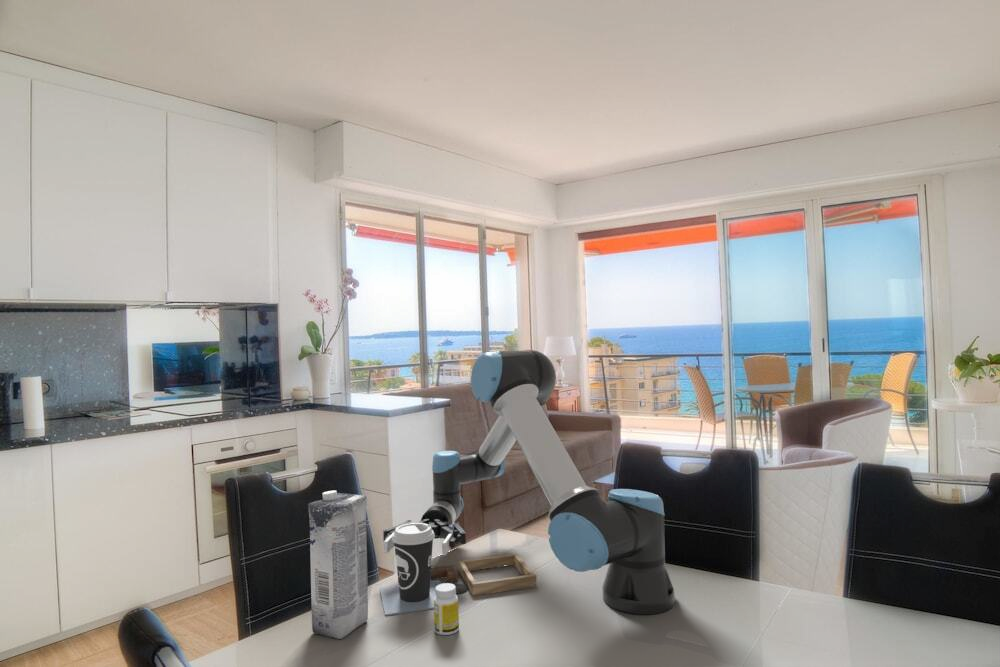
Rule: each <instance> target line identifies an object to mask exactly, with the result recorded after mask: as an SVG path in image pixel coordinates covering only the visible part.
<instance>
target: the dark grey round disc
mask: <svg viewBox="0 0 1000 667" xmlns="http://www.w3.org/2000/svg"><path fill="white" fill-rule="evenodd" d="M454 585H455V587H456V595H460V594H463V593H466V592H467V591H469V588H468V586H467V585H466V584H460V583H458V584H457V583H455V584H454Z"/></svg>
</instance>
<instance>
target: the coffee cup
mask: <svg viewBox="0 0 1000 667" xmlns="http://www.w3.org/2000/svg"><path fill="white" fill-rule="evenodd" d="M399 525H400V524H399ZM434 539H435V534H434V531H433V530H432V528H431V526H430V525H428V524H425V523H416V522H412V523H408V524H403V525H400V526H398V527H397V528H396V529H395V532H394V533H393V536H392V541H393V542H394V554H395V555H394V556H395V561H396V562H395V564H396V570H397V571H396V572H397V580H398V581H397V582H398V583H397V584H398V585H399V592H400V598H401V600H403V601H406V602H419V601H422V600H425V599H427V598H428V597H429V595H430V581H431V579H430V578H431V568H432V557H433V546H434V545H433V543H434V542H433V541H434Z"/></svg>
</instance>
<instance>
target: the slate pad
mask: <svg viewBox="0 0 1000 667" xmlns="http://www.w3.org/2000/svg"><path fill="white" fill-rule="evenodd" d="M440 584H443V583H442V581H441V579H434V580H430V595H429V597H428V598H427V599H425V600H422V601H419V602H406V601H403V600H401V598H400V592H399V584H398V585H392V586H391V585H390V586H384V587H379V592H380V596H381V601H382V602H381V603H382V606H383V611H384V616H385V617H387V616H394V615H400V614H401V615H402V614H407V613H413V612H422V611H428V610H434V598H435V596H436V594H435V588H436V586H438V585H440Z"/></svg>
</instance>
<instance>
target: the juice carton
mask: <svg viewBox="0 0 1000 667" xmlns="http://www.w3.org/2000/svg"><path fill="white" fill-rule="evenodd" d="M337 491H338V490H328V491H324V492H322V499H320V500H315V501H313V502H312V501H311V502H310V503H309V502H308V504H307V509H308V517H309V546H310V548H309V551H310V556H309V557H310V590H311V591H310V596H311V601H310V602H311V629H312V630H311V631H312V633H313V634H315V635H319V634H320V635H321V636H326V637H330V638H333V637H334V638H333V639H337V640H338V639H339V640H341V639H344V638H345V637H346V636H347V635H349V634H351V633H352V632H353V631H354V630H356V629H357V628H359V627H360V626H361V625H363V624H365V622H367V621H368V619H369V618H368V617H369V600H368V599H369V598H368V596H369V595H368V594H369V592H368V590H369V589H368V587H369V586H368V555H367V554H368V549H367V548H368V547H367V544H368V543H367V495H363V494H362V495H361V494H354V493H353V494H352V493H344V492H342V493H341V492H337Z"/></svg>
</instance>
